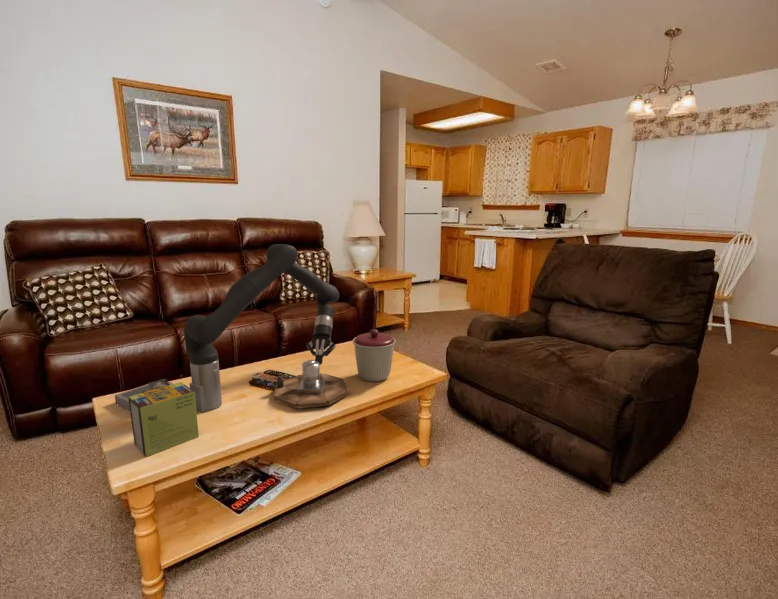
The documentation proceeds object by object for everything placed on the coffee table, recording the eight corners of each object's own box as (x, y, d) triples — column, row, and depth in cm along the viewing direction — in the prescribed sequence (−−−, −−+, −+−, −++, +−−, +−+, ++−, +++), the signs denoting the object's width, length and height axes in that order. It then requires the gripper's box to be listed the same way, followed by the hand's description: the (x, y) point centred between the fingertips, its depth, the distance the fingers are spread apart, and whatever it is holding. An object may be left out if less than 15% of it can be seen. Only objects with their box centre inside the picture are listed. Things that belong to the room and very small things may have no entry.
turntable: (313, 414, 142) (312, 399, 141) (259, 395, 156) (258, 381, 155) (360, 386, 164) (360, 374, 163) (309, 372, 178) (309, 360, 177)
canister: (366, 389, 165) (366, 338, 160) (345, 374, 180) (344, 327, 175) (403, 379, 174) (404, 331, 170) (381, 366, 189) (381, 321, 185)
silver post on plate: (320, 393, 155) (320, 365, 153) (296, 392, 155) (295, 365, 153) (325, 383, 164) (324, 357, 161) (302, 383, 164) (301, 356, 162)
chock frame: (138, 415, 142) (137, 406, 142) (116, 404, 150) (114, 395, 150) (186, 396, 157) (185, 388, 156) (163, 387, 165) (162, 379, 164)
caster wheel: (133, 416, 147) (142, 400, 156) (166, 407, 148) (173, 392, 157) (125, 401, 144) (135, 385, 153) (159, 392, 146) (166, 377, 155)
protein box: (199, 436, 130) (195, 390, 126) (145, 457, 118) (139, 407, 115) (185, 425, 136) (181, 381, 133) (133, 444, 125) (127, 396, 122)
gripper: (306, 323, 177) (300, 360, 168) (337, 323, 177) (332, 361, 167) (309, 331, 184) (304, 367, 174) (339, 331, 183) (335, 368, 174)
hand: (318, 364), depth 171 cm, fingers closed
